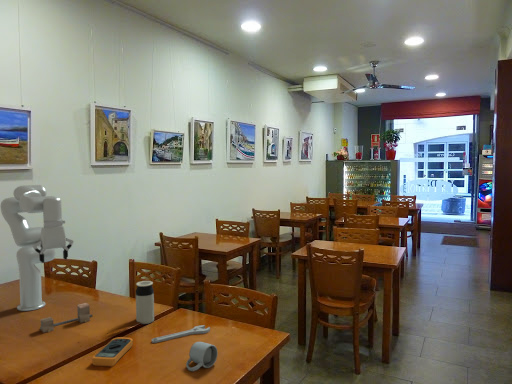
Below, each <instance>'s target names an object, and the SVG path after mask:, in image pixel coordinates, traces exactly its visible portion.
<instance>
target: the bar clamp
mask: <svg viewBox="0 0 512 384" xmlns="http://www.w3.org/2000/svg"><path fill="white" fill-rule="evenodd" d="M92 317H93V314H91V313H90V318H92ZM76 321H77V322H78V317H76V318H72V319H68V320H64V321H59V322H56V323H54V318H52V316H49V317H45V318H40V327H39V330H40V332H42V333H43V334H44V333H45V334H46V333H51V332H52V331H54V329H55V327H57V326H60V325H64V324H65V325H66V324H69V323H73V322H76Z"/></svg>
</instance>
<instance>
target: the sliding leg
mask: <svg viewBox="0 0 512 384" xmlns="http://www.w3.org/2000/svg"><path fill="white" fill-rule="evenodd" d="M76 306H77V307H76V308H77V310H76V311H77V318H78V320H77V322H79V323H80V324H82V323H87V322H89V321H90V320H91V317H90V315H91V313H90V309H91V308H90V306H91V305H90V304H89V303H87V302H84V303H81V304H77V305H76Z"/></svg>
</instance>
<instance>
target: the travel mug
mask: <svg viewBox="0 0 512 384" xmlns="http://www.w3.org/2000/svg"><path fill="white" fill-rule="evenodd" d="M153 283H154V282H153V281H151V280H142V281H137V282H136V283H135V285H136V290H135V313H136V314H135V317H136V323H139V325H147V324H151V323H153V322H154V321H155V298H154V297H155V296H154V295H155V294H154V293H155V291H154V287H153Z"/></svg>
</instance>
